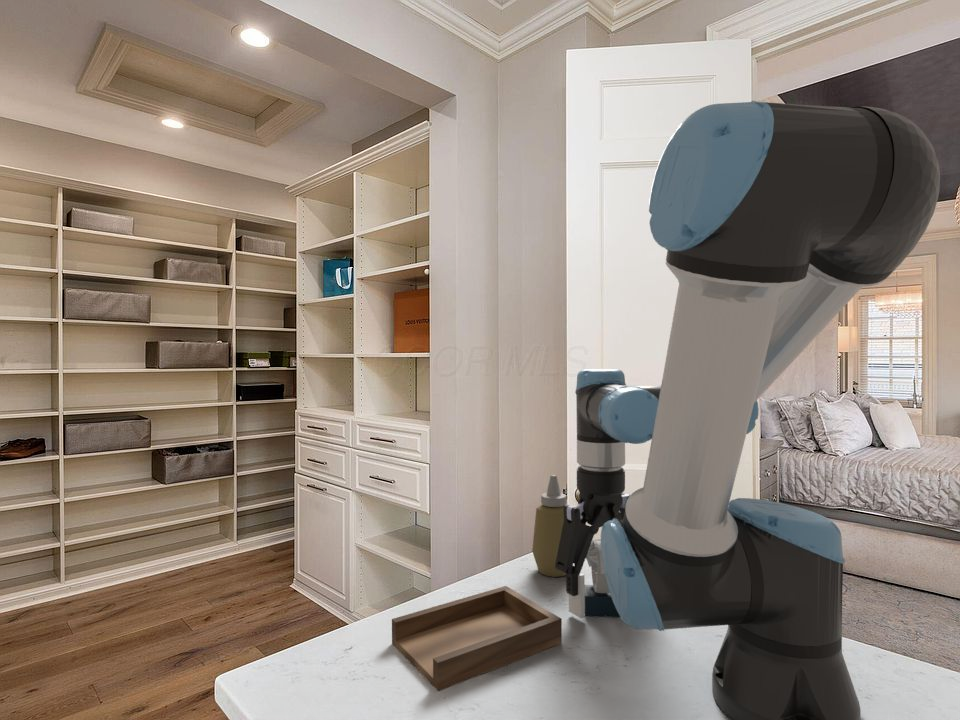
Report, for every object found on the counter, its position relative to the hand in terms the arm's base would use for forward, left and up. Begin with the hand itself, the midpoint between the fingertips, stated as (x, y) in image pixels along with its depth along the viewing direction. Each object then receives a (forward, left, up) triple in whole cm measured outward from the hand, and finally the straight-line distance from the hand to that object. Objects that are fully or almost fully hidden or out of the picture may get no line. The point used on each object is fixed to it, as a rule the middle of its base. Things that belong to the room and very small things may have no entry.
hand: (600, 605), depth 90 cm
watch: (0, 0, -1) cm, 1 cm away
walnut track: (+2, +22, -1) cm, 22 cm away
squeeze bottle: (+16, -4, -1) cm, 17 cm away
